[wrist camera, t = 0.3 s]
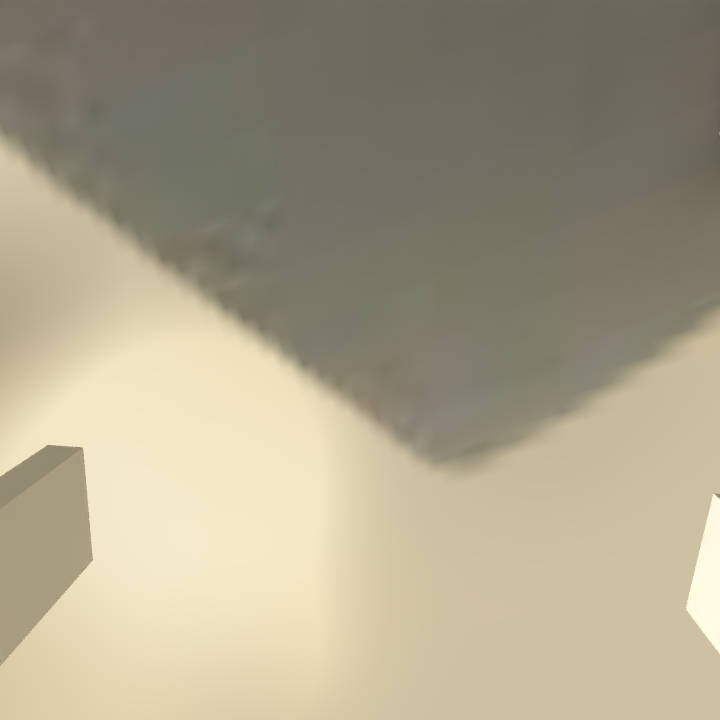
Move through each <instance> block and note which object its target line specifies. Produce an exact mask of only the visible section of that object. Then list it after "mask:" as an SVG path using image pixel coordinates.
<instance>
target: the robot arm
mask: <svg viewBox="0 0 720 720" xmlns="http://www.w3.org/2000/svg"><path fill="white" fill-rule="evenodd" d="M92 560H93V559H92V548H91V536H90V524H89V512H88V501H87V489H86V477H85V466H84V454H83V448H80V447H67V446H54V445H47V446H46V447H45V448H43V449H42V450H40V451H38V452H37V453H35V454H34V455H32V456H31V457H29V458H28V459H26V460H25V461H23V462H22V463H20V464H19V465H17V466H16V467H14V468H13V469H12V470H10V471H8V472H7V473H5V474H4V475H2V476H1V477H0V665H1V664H2V663H3V662H4V661H5V660H6V659H7V658H8V656H9V655H10V654H11V653H12V652H13V651H14V650H15V648H16V647H17V646H18V645H19V644H20V642H22V640H23V639H24V638H25V637H26V636H27V635H28V633H29V632H30V631H31V630H32V629H33V628H34V627H35V626H36V624H37V623H38V622H39V621H40V620H41V619H42V618H43V616H44V615H45V614H46V613H47V612H48V611H49V610H50V608H51V607H52V606H53V605H54V604H55V603H56V602H57V600H58V599H59V598H60V597H61V596H62V595H63V594H64V592H65V591H66V590H67V589H68V588H69V587H70V586H71V584H72V583H73V582H74V581H75V580H76V579H77V577H78V576H79V575H80V574H81V573H82V572H83V571H84V570H85V568H86V567H87V566H88V565H89V564H90V563H91V561H92ZM686 610H687V611H688V612H689V614H690V615H691V616H692V618H693V619H694V620H695V622H696V623H697V624H698V626H699V627H700V628H701V630H702V631H703V632H704V634H705V635H706V636H707V638H708V639H709V640H710V642H711V643H712V644H713V646H714V647H715V648H716V650H717V651H718V652H719V654H720V494H713V498H712V502H711V506H710V510H709V514H708V519H707V523H706V527H705V531H704V535H703V539H702V544H701V548H700V553H699V556H698V560H697V565H696V569H695V573H694V577H693V581H692V585H691V589H690V594H689V598H688V602H687V606H686Z"/></svg>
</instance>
